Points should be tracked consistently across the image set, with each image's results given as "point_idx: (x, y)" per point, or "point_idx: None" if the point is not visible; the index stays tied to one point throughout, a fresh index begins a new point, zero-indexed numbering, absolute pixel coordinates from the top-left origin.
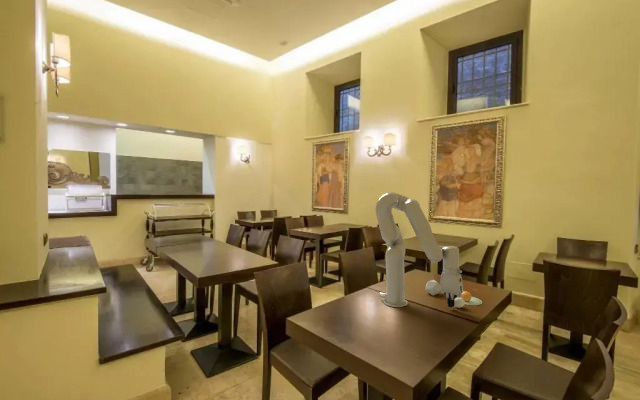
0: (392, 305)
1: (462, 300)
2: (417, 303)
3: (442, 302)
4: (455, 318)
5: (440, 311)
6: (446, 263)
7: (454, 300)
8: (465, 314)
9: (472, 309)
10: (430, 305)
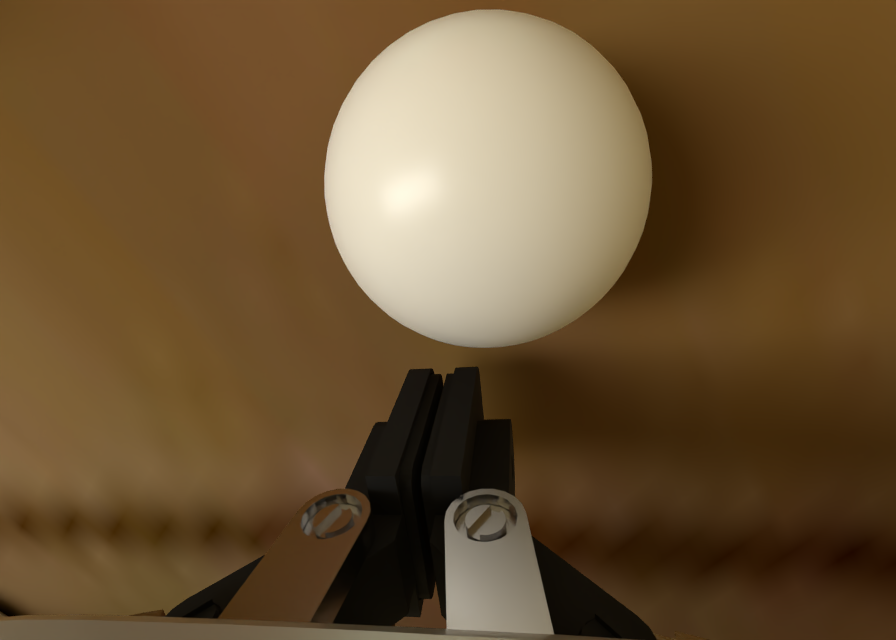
0: None
1: (630, 226)
2: (35, 524)
3: (130, 185)
4: (691, 626)
5: None
6: None
7: (509, 493)
8: (758, 406)
9: (788, 7)
10: (166, 467)
